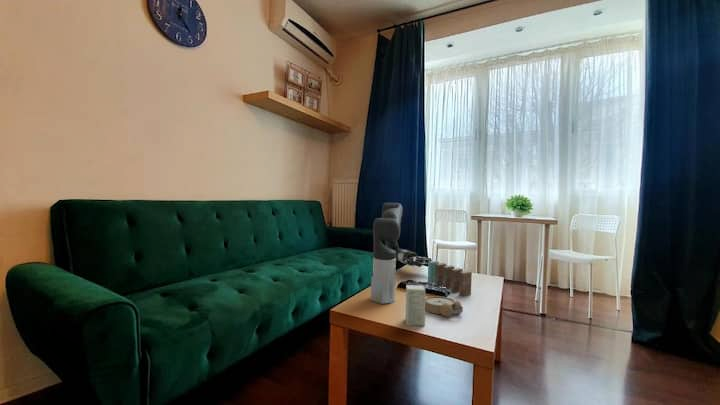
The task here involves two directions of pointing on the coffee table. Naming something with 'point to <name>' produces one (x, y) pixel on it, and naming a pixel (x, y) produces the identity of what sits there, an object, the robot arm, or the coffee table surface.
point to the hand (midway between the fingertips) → (427, 264)
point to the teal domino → (432, 270)
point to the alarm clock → (443, 306)
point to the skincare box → (415, 305)
